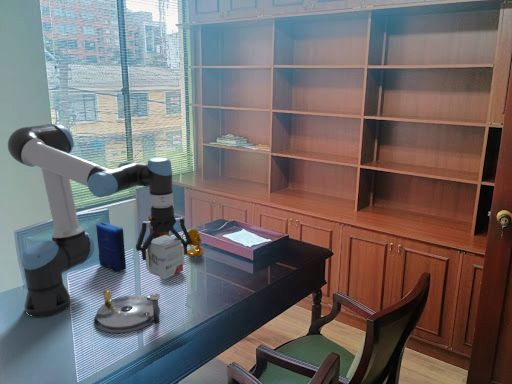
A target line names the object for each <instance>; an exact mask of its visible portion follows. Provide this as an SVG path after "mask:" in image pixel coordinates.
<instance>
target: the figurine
mask: <svg viewBox="0 0 512 384" xmlns="http://www.w3.org/2000/svg"><path fill="white" fill-rule="evenodd" d="M182 232H183V231H182ZM187 232H188V234H189V236H190V238H191V241H192V244H189V245H188V246H190V247H195V246H196V247H195V248H192V249H187V255H186V256H189V257H195V256H197V257H201V256H203V255H202V254H204V250H203V249H204V248H202V247H201V242H202V239H201V235H200V233H199V231H198V230H197V229H194V228H192V229H190V230H188V231H187ZM180 236H181V237H182V238H183V239H184V236H185V234H184V232H183V233H182V235H180ZM186 240H187V239H186V238H185V241H186ZM200 255H201V256H200Z"/></svg>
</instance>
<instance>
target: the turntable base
mask: <svg viewBox="0 0 512 384" xmlns="http://www.w3.org/2000/svg"><path fill="white" fill-rule="evenodd" d="M160 298H161V295H160V294H159V293H151V294H150V295H148V296H147V300H150V301H153V313H154V317H153V318H152V319H151V320H149V321H148V322H146V323H144V324H142V325H139V326H137V327H133V328H128V329H109V328H105V327H103V326H101V325H100V324H99V323H98V321H97V313H96V314H95V316H94V319H93V321H94V322H93V323H94V326H95V328H96V329H98V330H99V331H101V332H104V333H107V334H127V333H133V332H136V331H139V330H142V329H145V328H146V327H148V326H151V325H152V324H160V321H161V320H160V313H161V310H160V306H159V300H160Z"/></svg>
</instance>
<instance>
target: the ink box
mask: <svg viewBox="0 0 512 384" xmlns="http://www.w3.org/2000/svg"><path fill="white" fill-rule="evenodd" d="M147 250H148V257H149V270H148V273H150V274H151V275H154V276H157V277H159V278H162V279H165V280H166V279H168V278H170V277H172V276H174V274H176V275H178V274H179V273H181V272H182V271H184V265H183V263H182V243H181V240H178V239H177V237H176V236H175V237H174V236H172V235H171V236H168V235H164V236H161V237H158V238H155V239H153V240H152V242H151V243H150V245H149V246H148V248H147ZM177 273H178V274H177Z"/></svg>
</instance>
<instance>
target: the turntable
mask: <svg viewBox="0 0 512 384" xmlns="http://www.w3.org/2000/svg"><path fill="white" fill-rule="evenodd" d="M147 297H148V296H146V295H141V294H140V295H139V294H138V295H137V294H128V295H123V296H120V297H116V298H113V299H112V293H111V289H105V290H103V298H104V303H103V304H102V305H101V306H99V308H98V309H97V311H96V314H97V321H98V323H99V324H100V325H101V326H103V327H105V328H109V329H128V328H133V327H137V326H139V325H142V324H144V323H146V322H148V321H149V320H151V319H152V318H153V317H154V313H153V301H150V300H147Z"/></svg>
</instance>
